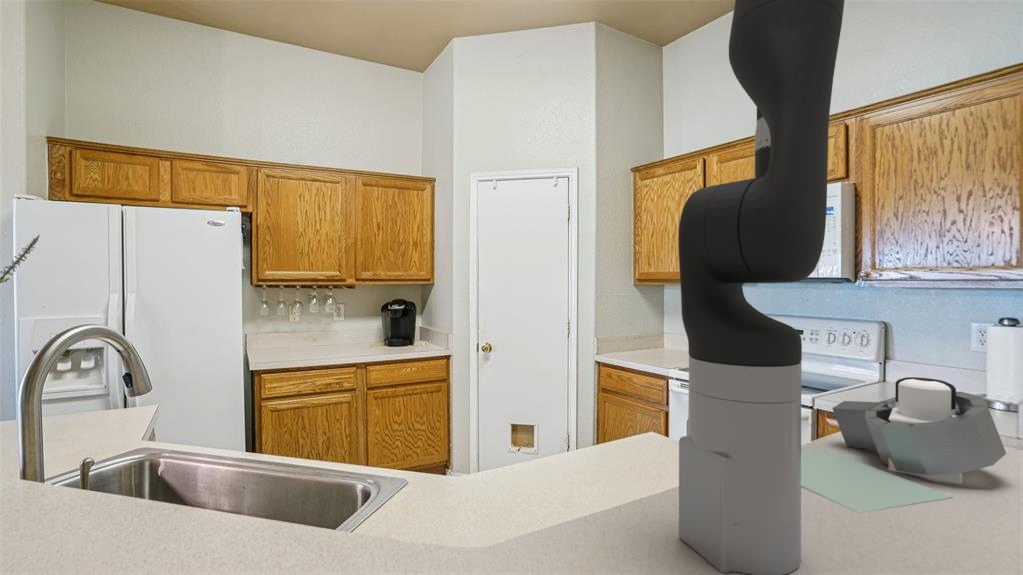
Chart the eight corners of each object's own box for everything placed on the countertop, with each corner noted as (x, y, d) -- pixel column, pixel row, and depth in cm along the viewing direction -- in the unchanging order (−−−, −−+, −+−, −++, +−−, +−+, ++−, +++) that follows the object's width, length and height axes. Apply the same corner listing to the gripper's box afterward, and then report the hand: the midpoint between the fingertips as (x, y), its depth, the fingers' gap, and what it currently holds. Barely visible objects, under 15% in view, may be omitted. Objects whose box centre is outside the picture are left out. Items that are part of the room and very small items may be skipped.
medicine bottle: (891, 456, 69) (892, 372, 69) (960, 469, 64) (961, 379, 64) (887, 471, 63) (888, 380, 63) (962, 486, 59) (963, 387, 59)
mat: (858, 516, 51) (858, 512, 51) (741, 460, 67) (741, 457, 67) (953, 500, 55) (953, 496, 55) (820, 450, 71) (820, 447, 71)
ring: (973, 482, 55) (953, 431, 55) (826, 459, 71) (812, 420, 72) (1023, 438, 60) (1005, 392, 60) (876, 426, 76) (862, 389, 76)
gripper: (762, 136, 71) (762, 246, 71) (837, 144, 75) (837, 248, 75) (726, 150, 78) (726, 250, 79) (797, 156, 82) (796, 251, 82)
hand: (780, 249), depth 77 cm, fingers open, 8 cm apart
